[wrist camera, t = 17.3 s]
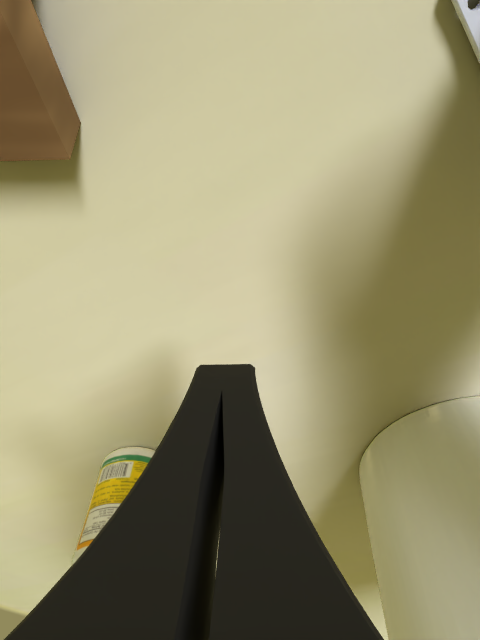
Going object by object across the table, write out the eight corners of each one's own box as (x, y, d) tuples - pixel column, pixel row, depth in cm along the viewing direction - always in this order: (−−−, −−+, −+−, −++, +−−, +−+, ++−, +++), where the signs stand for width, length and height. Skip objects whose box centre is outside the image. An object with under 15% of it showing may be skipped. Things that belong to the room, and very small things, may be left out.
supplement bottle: (114, 435, 29) (64, 598, 21) (189, 457, 30) (167, 617, 22) (95, 475, 32) (46, 629, 24) (163, 493, 33) (137, 644, 26)
